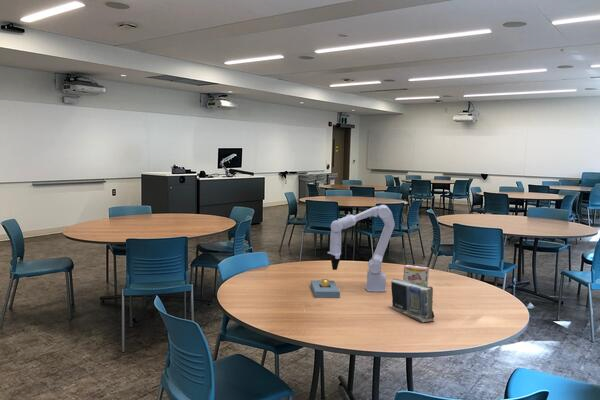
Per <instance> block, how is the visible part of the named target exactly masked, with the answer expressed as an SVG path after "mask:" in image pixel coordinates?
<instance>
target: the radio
mask: <svg viewBox="0 0 600 400" xmlns="http://www.w3.org/2000/svg"><path fill="white" fill-rule="evenodd" d="M390 284H391V285H390V286H391V287H390V288H391V295H392V297H391V299H392V304H391V305H392V306H389V307H388V308H389V309H392V310H394V311H396V312H398V313H400V314H403V315H404V316H406V317H409V318H411V319H414V320H416V321H418V322H420V323H429V322H432V321H433V322H434V321H435V315H434V314H435V313H434V311H433V303H434V302H433V299H434V297H433V296H434V295H433V293H434V292H433V291H434V288H433V287H432V286H428V287H427V286H422V285H417V284H415V283H412V282H408V281H404V280H403V279H399V278H392V280H391V283H390Z"/></svg>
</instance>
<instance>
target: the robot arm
mask: <svg viewBox="0 0 600 400" xmlns="http://www.w3.org/2000/svg"><path fill="white" fill-rule="evenodd" d="M369 217H375V218H378V217H379V218H380V219H381V220H382V222H383V224H384V226H383V229H382V232H381V235H380V237H379V240H378V242H377V245H376V248H375V250H374V253H373V255H372V257H371V259H369V261H368V263H367V266H368V270H367V272H366V286H364V289H365V290H366V291H367V292H368V293H369V292H372V293H373V292H374V293H375V292H377V293H378V292H379V293H380V292H387V291H386V289H387V287H386V285H387V275H386V273H385V272H382V271H381V270H382V263H383V259H384V255H385V252H386V250H387V247H388V244H389V243H390V242H389V241H390V239H391V236H392V233H393V231H394V229H395V226H396V224H395V220H394V216H393V212H392V211H391V209H390V208H389V207H388V205H386V204H380V205H376V206H373V207H371V208H368V209H366V210H363V211H362V212H360V213H357V214H355V215H354V214H349V213H348V214H346V215H345V216H343V217H342V218H337V220H333V221H332V222H331V223H330V230H331V231H330V235H329V236H330V237H329V238H330V241H329V242H330V243H329V251H327V254H329V258H330V261H331V268H332V270H333V271H337V270H338V266H339V263H340V261H341V259H342V256H341V255H342V231H343V230H346V229H348V228H350V227H353V226H355V225H356V224H357V222H359V221H361V220H364V219H366V218H369Z"/></svg>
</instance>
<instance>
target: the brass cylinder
mask: <svg viewBox="0 0 600 400" xmlns="http://www.w3.org/2000/svg"><path fill="white" fill-rule="evenodd" d="M329 281H330V280H329V279H328V278H322V279H321V287H329Z"/></svg>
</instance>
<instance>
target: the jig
mask: <svg viewBox="0 0 600 400" xmlns="http://www.w3.org/2000/svg"><path fill="white" fill-rule="evenodd" d="M310 288H311V291H312V293H313V296H314V298H315V299H317V298H318V299H319V298H320V299H324V298H325V299H328V298H329V299H340V298H341V291H340V289H339V288H338V286H337V284H336V282H335V280H329V287H321V280H314V279H313V280H310Z"/></svg>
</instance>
